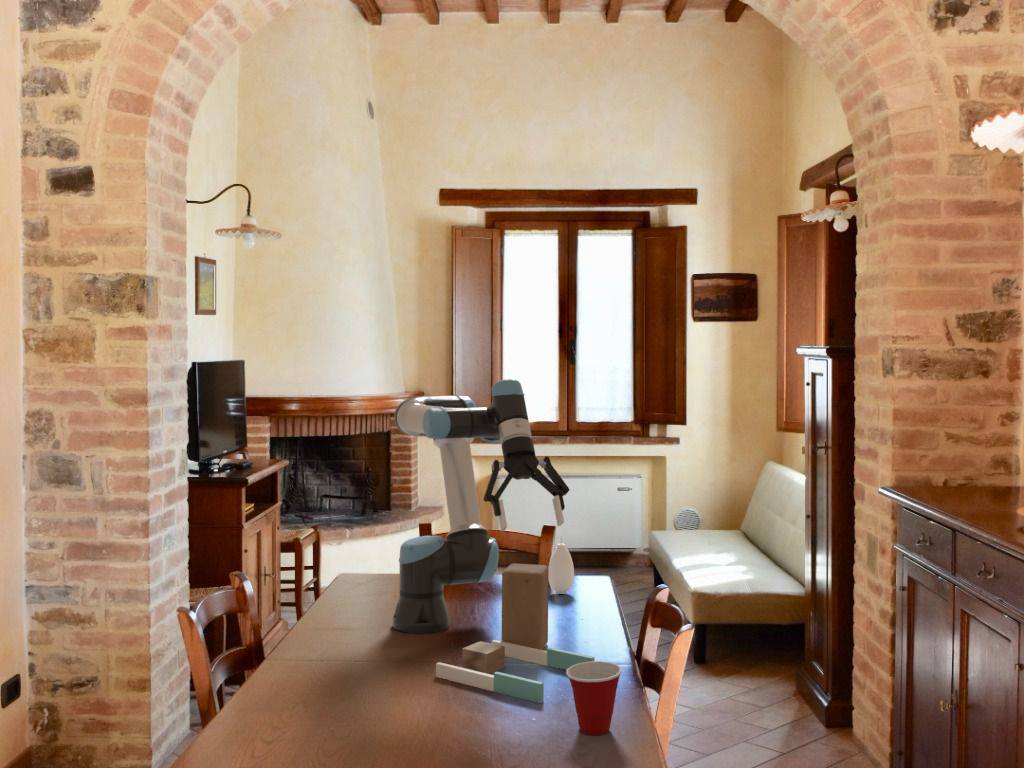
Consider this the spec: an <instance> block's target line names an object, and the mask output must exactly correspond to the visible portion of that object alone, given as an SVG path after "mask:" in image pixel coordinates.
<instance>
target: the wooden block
mask: <svg viewBox="0 0 1024 768" xmlns="http://www.w3.org/2000/svg"><path fill="white" fill-rule="evenodd" d="M548 568H549V566H547V565H545V564H533V563H532V564H531V563H515V562H514V563H510V564H509V565H508V566H507V567H506V568H505V569H504V570H503V571H502V573H501V633H500V634H501V639H500V641H502V642H507V643H512V644H516V645H521V646H526V647H530V648H535V649H539V650H544V648H545V647H546V646H547V643H548V642H549V579H548V574H549V569H548Z"/></svg>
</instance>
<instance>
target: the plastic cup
mask: <svg viewBox="0 0 1024 768" xmlns="http://www.w3.org/2000/svg"><path fill="white" fill-rule="evenodd" d="M622 669H623V668H622V667H621V666H620V665H618V664H617V663H613V662H609V661H602V660H599V661H598V660H595V661H593V662H584V663H579V664H576V665H573V666H571V667H569V668H568V669H567V670H565V671H566V672H565V675H566V676H567V677H568V679H569V682H570V685H571V688H572V695H573V700H574V707H575V712H576V715H577V723H578V727H579V730H580V732H581V733H584V734H585V735H589V736H602V735H606V734H608V733H609V732H610V729H611V725H612V724H611V722H612V717H613V715H614V710H615V709H614V708H615V702H616V696H617V690H618V685H619V681H620V676H621V675H622ZM608 731H609V732H608ZM607 732H608V733H607ZM605 733H606V734H605Z"/></svg>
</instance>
